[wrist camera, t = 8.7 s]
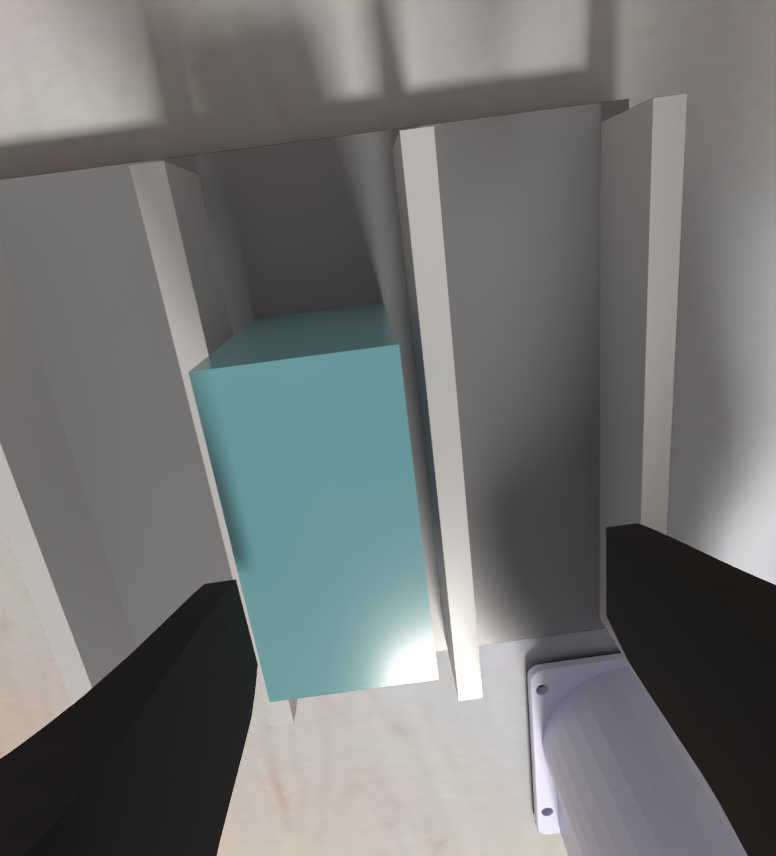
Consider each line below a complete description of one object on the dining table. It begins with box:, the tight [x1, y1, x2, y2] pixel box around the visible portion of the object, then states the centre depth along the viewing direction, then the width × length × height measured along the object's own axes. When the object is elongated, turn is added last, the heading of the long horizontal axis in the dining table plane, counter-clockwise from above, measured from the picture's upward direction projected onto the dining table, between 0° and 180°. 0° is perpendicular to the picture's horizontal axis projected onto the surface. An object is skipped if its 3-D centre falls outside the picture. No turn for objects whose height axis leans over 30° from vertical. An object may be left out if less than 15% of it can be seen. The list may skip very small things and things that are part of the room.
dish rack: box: [0, 94, 687, 727], centre depth 18 cm, size 18×19×4 cm
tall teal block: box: [188, 303, 438, 702], centre depth 15 cm, size 8×4×7 cm, turn 7°
